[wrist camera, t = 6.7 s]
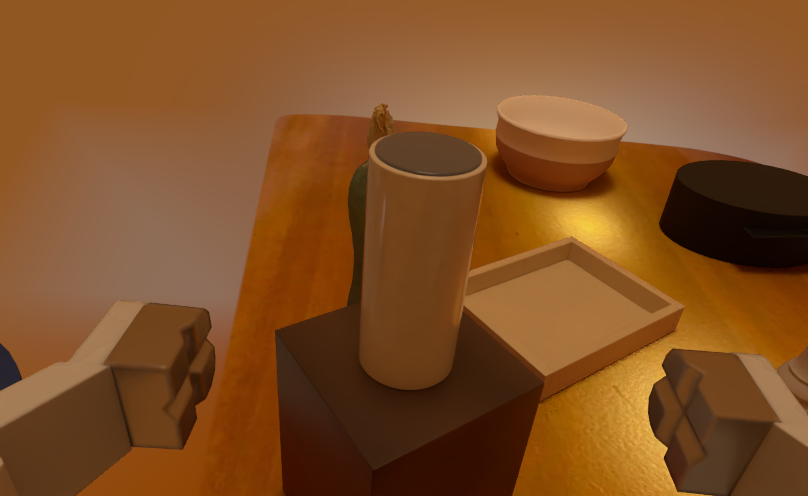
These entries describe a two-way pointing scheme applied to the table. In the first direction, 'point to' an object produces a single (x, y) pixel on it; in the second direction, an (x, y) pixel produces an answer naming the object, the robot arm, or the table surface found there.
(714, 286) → the table surface
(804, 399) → the rook chess piece
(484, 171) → the cylinder
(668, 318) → the tray
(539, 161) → the bowl
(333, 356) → the pedestal
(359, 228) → the vegetable
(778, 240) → the black flat-topped cap
